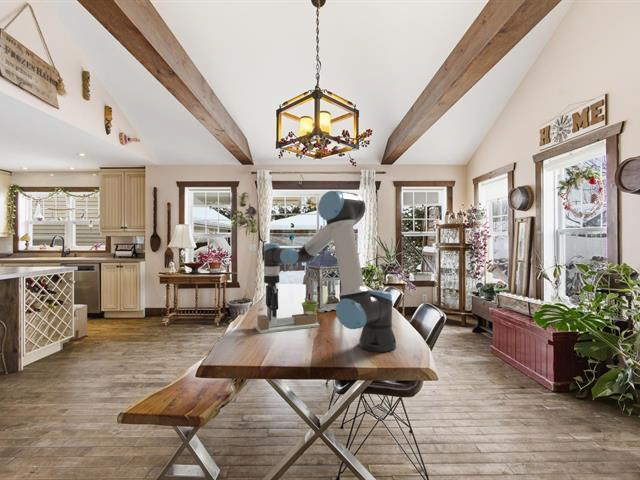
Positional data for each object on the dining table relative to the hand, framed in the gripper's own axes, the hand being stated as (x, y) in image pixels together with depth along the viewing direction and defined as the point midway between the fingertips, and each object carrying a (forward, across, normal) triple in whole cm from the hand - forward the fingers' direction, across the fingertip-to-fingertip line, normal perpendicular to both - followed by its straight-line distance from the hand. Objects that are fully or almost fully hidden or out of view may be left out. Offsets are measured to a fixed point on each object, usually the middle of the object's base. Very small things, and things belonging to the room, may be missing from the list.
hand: (271, 321), depth 167 cm
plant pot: (+4, +12, -25) cm, 28 cm away
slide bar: (+2, 0, -4) cm, 5 cm away
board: (+4, 0, -8) cm, 9 cm away
